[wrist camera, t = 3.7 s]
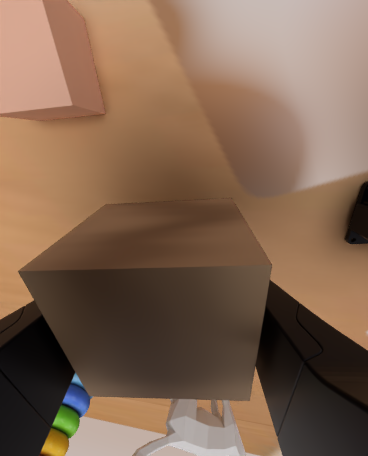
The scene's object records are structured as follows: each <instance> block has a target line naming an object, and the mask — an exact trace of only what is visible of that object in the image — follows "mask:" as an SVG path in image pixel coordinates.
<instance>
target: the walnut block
mask: <svg viewBox="0 0 368 456" xmlns="http://www.w3.org/2000/svg"><path fill="white" fill-rule="evenodd" d="M271 269H272V264H271V262H270V261H269V259H268V257H267V256H266V254H265V252H264V251H263V249H262V247H261V246H260V244H259V242H258V241H257V239H256V237H255V236H254V234H253V233H252V231H251V229H250V228H249V226H248V224H247V223H246V221H245V219H244V218H243V216H242V214H241V213H240V211H239V209H238V208H237V206H236V204H235V203H234V201H233V199H232V198H222V199H202V200H183V201H164V202H145V203H125V204H106V205H104V206H103V207H102V208H100V209H99V210H98V211H96V212H95V213H94V214H92V215H91V216H90V217H89V218H87V219H86V220H85V221H83V222H82V223H81V224H79V225H78V226H77V227H75V228H74V229H73V230H71V231H70V232H69V233H68V234H66V235H65V236H64V237H62V238H61V239H60V240H58V241H57V242H56V243H54V244H53V245H52V246H50V247H49V248H48V249H47V250H45V251H44V252H43V253H41V254H40V255H39V256H37V257H36V258H35V259H33V260H32V261H31V262H29V263H28V264H27V265H26V266H24V267H23V268H22V269H20V270H19V271H18V272H19V274H20V276H21V277H22V279H23V281H24V283H25V284H26V286H27V288H28V290H29V292H30V293H31V295H32V297H33V299H34V300H35V302H36V304H37V306H38V307H39V309H40V311H41V313H42V314H43V316H44V318H45V320H46V321H47V323H48V325H49V327H50V328H51V330H52V332H53V334H54V335H55V337H56V339H57V341H58V342H59V344H60V346H61V348H62V349H63V351H64V353H65V355H66V356H67V358H68V360H69V362H70V363H71V365H72V367H73V369H74V370H75V372H76V374H77V376H78V377H79V379H80V381H81V383H82V384H83V386H84V388H85V390H86V391H87V393H88V395H89V396H97V397H131V398H165V399H200V400H234V401H250V395H251V389H252V383H253V377H254V371H255V365H256V359H257V353H258V347H259V341H260V335H261V329H262V323H263V317H264V311H265V305H266V299H267V293H268V287H269V281H270V275H271Z"/></svg>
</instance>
